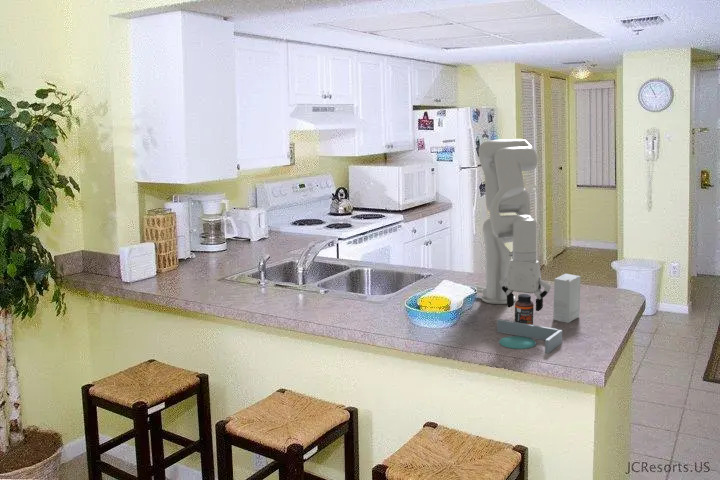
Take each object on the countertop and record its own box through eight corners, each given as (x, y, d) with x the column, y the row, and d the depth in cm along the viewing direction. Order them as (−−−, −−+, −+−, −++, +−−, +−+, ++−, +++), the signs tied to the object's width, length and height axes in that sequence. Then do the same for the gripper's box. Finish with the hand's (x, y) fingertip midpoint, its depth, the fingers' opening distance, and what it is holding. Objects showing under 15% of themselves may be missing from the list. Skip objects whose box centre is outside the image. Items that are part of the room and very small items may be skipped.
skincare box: (564, 314, 239) (564, 272, 237) (580, 317, 235) (581, 275, 232) (552, 320, 233) (553, 277, 231) (569, 323, 229) (570, 280, 226)
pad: (493, 344, 211) (493, 344, 211) (508, 335, 220) (508, 334, 220) (526, 351, 205) (526, 350, 205) (541, 340, 213) (541, 339, 213)
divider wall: (482, 341, 215) (482, 328, 214) (498, 331, 224) (498, 319, 223) (548, 353, 202) (548, 340, 202) (562, 342, 211) (562, 329, 211)
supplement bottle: (520, 332, 222) (520, 298, 220) (511, 327, 228) (511, 294, 226) (536, 330, 224) (537, 296, 222) (527, 325, 229) (527, 292, 227)
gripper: (494, 256, 223) (495, 307, 226) (545, 260, 213) (545, 314, 216) (504, 252, 229) (505, 302, 232) (555, 256, 219) (554, 309, 222)
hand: (524, 308), depth 224 cm, fingers open, 9 cm apart
